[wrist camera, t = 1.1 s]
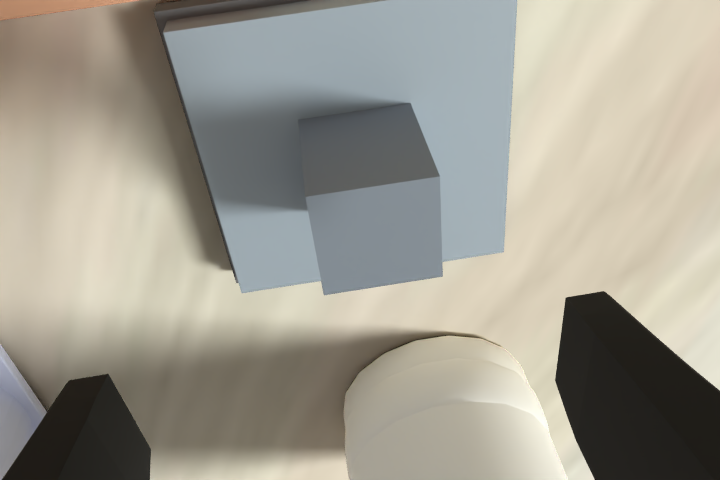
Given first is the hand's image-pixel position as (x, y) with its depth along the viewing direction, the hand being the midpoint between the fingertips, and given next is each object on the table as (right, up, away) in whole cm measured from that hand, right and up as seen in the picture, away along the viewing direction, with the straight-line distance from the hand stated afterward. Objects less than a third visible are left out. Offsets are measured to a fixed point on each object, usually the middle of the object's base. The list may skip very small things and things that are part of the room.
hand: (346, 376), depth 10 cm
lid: (0, +5, +8) cm, 9 cm away
